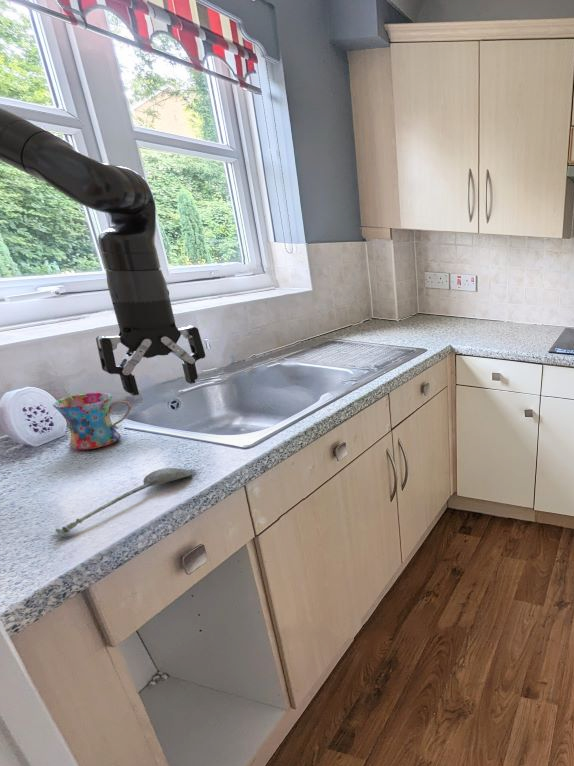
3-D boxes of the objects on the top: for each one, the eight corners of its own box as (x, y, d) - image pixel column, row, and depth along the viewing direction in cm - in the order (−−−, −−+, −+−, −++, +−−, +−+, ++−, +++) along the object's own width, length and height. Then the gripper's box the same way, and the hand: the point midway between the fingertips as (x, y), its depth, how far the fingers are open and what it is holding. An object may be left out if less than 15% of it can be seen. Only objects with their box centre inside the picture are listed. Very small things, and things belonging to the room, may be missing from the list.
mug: (63, 456, 96) (47, 410, 92) (72, 440, 103) (58, 396, 99) (137, 444, 102) (125, 400, 99) (141, 430, 109) (129, 388, 106)
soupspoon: (201, 477, 91) (174, 474, 93) (197, 462, 90) (171, 459, 92) (75, 540, 71) (44, 535, 72) (69, 522, 70) (37, 516, 71)
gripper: (180, 291, 83) (198, 375, 89) (76, 298, 72) (104, 394, 77) (199, 295, 80) (217, 383, 85) (92, 303, 68) (121, 403, 74)
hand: (163, 388), depth 81 cm, fingers open, 8 cm apart
